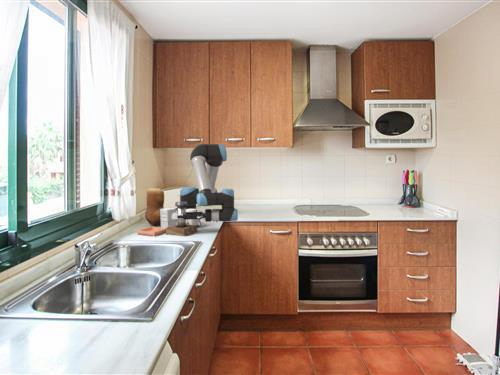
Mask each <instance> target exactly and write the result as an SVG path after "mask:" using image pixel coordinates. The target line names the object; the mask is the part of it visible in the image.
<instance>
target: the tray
mask: <svg viewBox="0 0 500 375" xmlns="http://www.w3.org/2000/svg"><path fill="white" fill-rule="evenodd" d="M164 233H165V234H166V228H161V226H160V227H159V226H158V227H157V226H149V227H145V228H141V229H138V230H137V236H138V235H139V236H145V237H153V236H155V237H158V236H161V235H165V234H164Z"/></svg>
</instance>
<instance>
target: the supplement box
mask: <svg viewBox="0 0 500 375" xmlns="http://www.w3.org/2000/svg"><path fill="white" fill-rule="evenodd" d="M173 213H177V208H175V207H173V208H172V207H164V209H160V215H161V224H160V228H166V227H170V226H174V225H177V219H172V214H173Z"/></svg>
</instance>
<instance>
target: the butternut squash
mask: <svg viewBox="0 0 500 375" xmlns="http://www.w3.org/2000/svg"><path fill="white" fill-rule="evenodd" d="M164 203H165V193H164V190H163V189H161V188H158V187H157V188H156V187H151V188H148V189H147V191H146V209H145V214H144V218H145V220H146V222H148V224H150V225H152V227H157V226H158V227H159V226H161V215H160V209H164V208H165V207H164Z"/></svg>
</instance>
